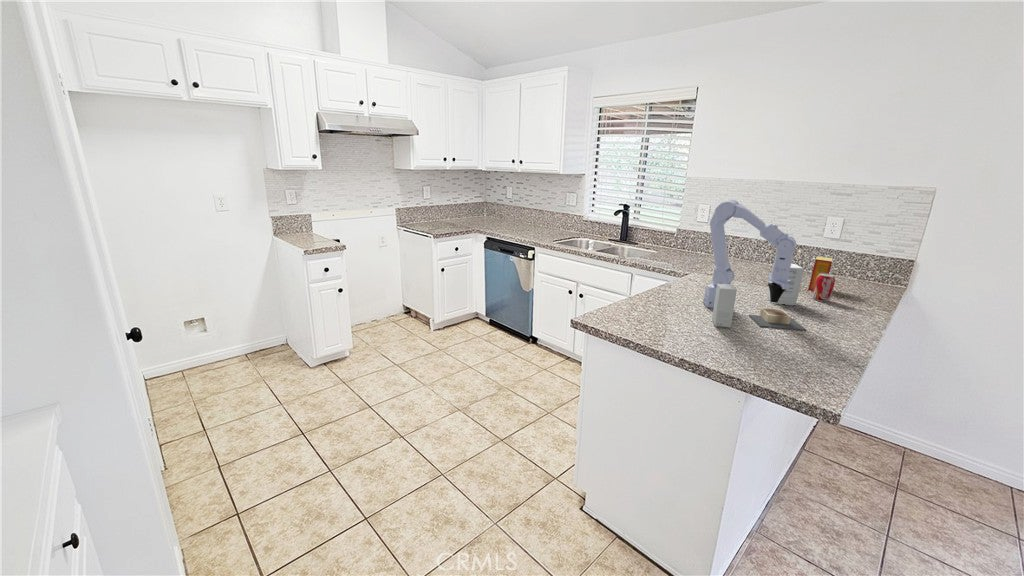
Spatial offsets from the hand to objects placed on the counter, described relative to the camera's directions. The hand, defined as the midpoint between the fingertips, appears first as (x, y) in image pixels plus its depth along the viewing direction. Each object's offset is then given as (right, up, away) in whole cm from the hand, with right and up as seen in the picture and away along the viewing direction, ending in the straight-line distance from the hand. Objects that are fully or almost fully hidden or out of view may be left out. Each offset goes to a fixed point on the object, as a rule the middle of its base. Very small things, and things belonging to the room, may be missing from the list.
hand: (773, 301), depth 170 cm
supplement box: (+17, -1, +23) cm, 28 cm away
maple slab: (0, -4, +2) cm, 5 cm away
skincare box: (-24, -8, -6) cm, 26 cm away
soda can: (+38, 0, +27) cm, 46 cm away
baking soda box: (+48, +5, +44) cm, 65 cm away
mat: (-1, -8, -4) cm, 9 cm away
